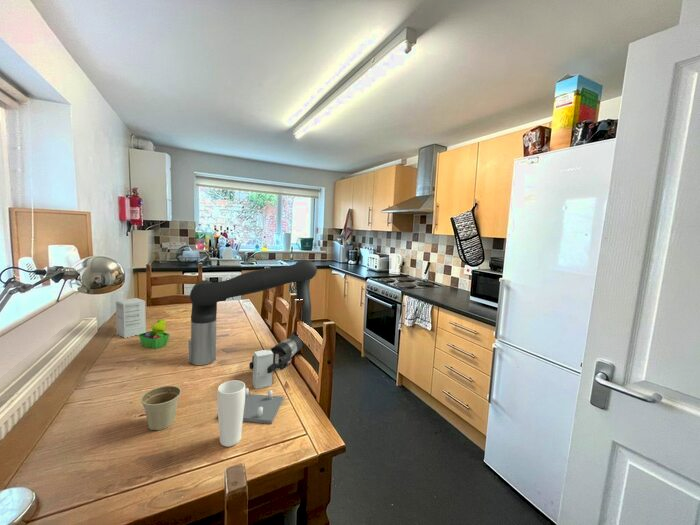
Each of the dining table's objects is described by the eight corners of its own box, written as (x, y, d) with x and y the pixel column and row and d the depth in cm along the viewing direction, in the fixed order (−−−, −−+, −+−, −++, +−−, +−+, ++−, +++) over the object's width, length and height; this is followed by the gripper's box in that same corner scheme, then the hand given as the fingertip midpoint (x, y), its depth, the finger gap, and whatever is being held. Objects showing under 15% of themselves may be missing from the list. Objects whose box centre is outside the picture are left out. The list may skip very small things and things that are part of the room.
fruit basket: (137, 345, 128) (136, 321, 127) (156, 339, 137) (156, 316, 135) (154, 351, 124) (153, 325, 123) (173, 344, 132) (173, 320, 131)
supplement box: (146, 333, 143) (146, 300, 141) (124, 338, 135) (123, 304, 133) (138, 329, 148) (137, 297, 146) (116, 333, 140) (115, 300, 138)
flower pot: (189, 417, 83) (189, 389, 82) (158, 439, 74) (157, 408, 73) (165, 409, 86) (165, 382, 85) (132, 429, 77) (132, 399, 76)
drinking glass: (222, 431, 78) (222, 379, 77) (247, 431, 79) (248, 380, 77) (212, 450, 72) (212, 393, 70) (240, 449, 72) (241, 394, 71)
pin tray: (217, 418, 83) (218, 407, 83) (236, 395, 95) (236, 385, 95) (271, 423, 82) (272, 412, 82) (283, 399, 94) (283, 389, 94)
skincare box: (255, 389, 99) (256, 356, 98) (252, 383, 103) (252, 351, 102) (272, 385, 103) (273, 353, 101) (268, 379, 106) (269, 348, 105)
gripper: (269, 339, 117) (242, 354, 102) (300, 345, 113) (277, 362, 97) (268, 356, 118) (241, 374, 102) (299, 363, 114) (276, 383, 98)
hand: (259, 368), depth 100 cm, fingers closed on skincare box, 7 cm apart
